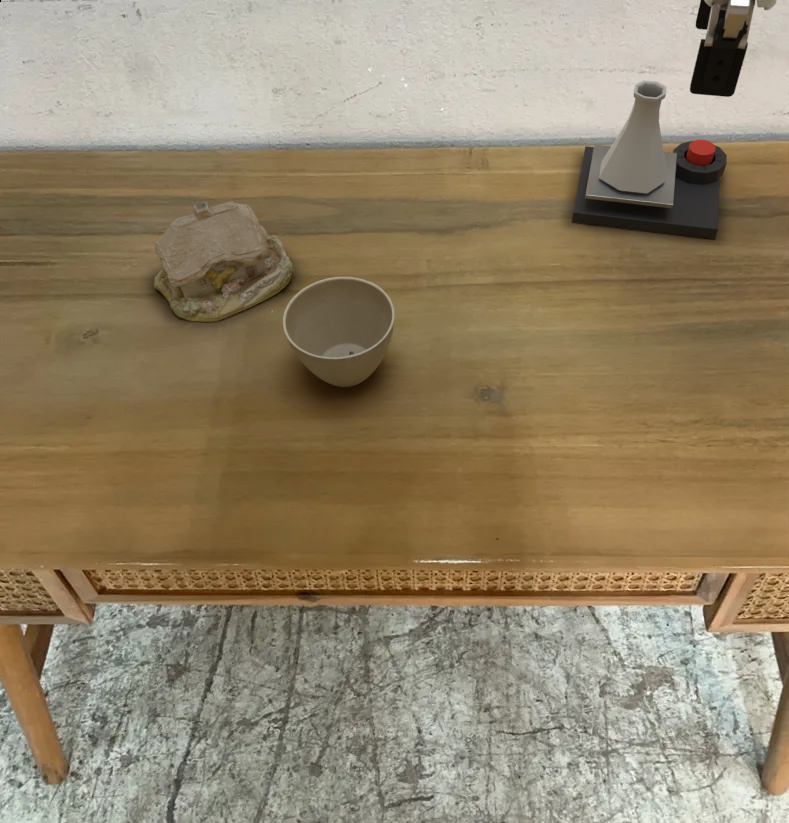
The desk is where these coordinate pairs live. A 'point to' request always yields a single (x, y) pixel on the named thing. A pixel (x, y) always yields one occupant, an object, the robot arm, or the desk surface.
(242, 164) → the desk surface
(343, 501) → the desk surface
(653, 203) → the pan
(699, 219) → the scale
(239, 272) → the ceramic model
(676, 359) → the desk surface
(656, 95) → the flask
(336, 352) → the bowl
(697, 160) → the tare button
